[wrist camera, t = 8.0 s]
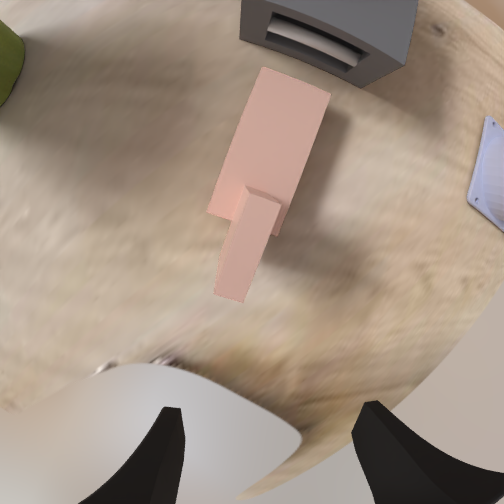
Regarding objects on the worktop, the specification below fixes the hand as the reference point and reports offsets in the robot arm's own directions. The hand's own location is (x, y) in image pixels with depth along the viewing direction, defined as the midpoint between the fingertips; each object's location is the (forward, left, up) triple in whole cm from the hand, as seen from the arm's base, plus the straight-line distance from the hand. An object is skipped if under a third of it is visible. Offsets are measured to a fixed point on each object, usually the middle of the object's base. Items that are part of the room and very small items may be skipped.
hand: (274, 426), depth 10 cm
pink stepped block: (+3, -9, -8) cm, 12 cm away
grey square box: (+3, -20, -9) cm, 22 cm away
